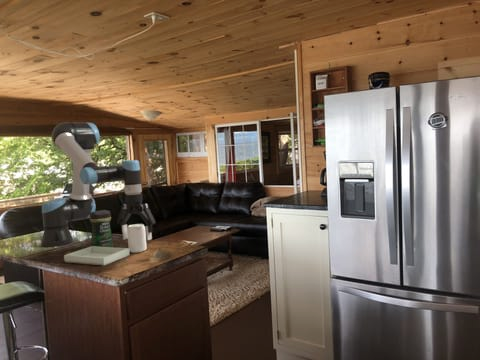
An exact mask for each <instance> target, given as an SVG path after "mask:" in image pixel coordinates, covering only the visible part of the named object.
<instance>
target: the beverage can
mask: <svg viewBox="0 0 480 360" xmlns="http://www.w3.org/2000/svg"><path fill="white" fill-rule="evenodd" d="M127 234H128V238H127V244H128V245H127V246H128V248H129V252H130V253H132V254H136V253H137V254H138V253H142V252H144V251H146V250H147V249H148V247H147V235H146V226H145V224H143V223H135V224H129V225H127Z"/></svg>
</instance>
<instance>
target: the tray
mask: <svg viewBox="0 0 480 360" xmlns="http://www.w3.org/2000/svg"><path fill="white" fill-rule="evenodd" d="M130 253H131V252H130V251H129V247H128V248H127V247H114V246H112V247H98V246H92V245H91V246H87V247H86V248H82V249H79V250H75V251H71V252H69V253H66V254H64V255H63V258H64V259H63V260H64V263H73V264H83V265H95V266H107V265H109V264H112V263H113V262H116V261H119V260H121V259H123V258H126V257H129V256H130V255H131V254H130Z"/></svg>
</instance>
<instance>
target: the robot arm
mask: <svg viewBox="0 0 480 360" xmlns="http://www.w3.org/2000/svg"><path fill="white" fill-rule="evenodd" d="M100 137H101V136H100V131H99V128H98V127H97V125H96V124H94V123H93V122H84V121H81V122H78V121H75V122H74V121H71V122H70V121H64V122H60V123H58V124H57V125H56V126H55V127H54V128H53V130H52V132H51V141H52V143H53V144H54V146H55V147H56V148H57V149H58V150H60V151H61V150H62V152H63V153H64V154H65V155H66V156H67V157H68V159H69V161H71V162H72V167H73V168H72V184H71V185H72V186H71V188H72V190H71V193H70V194H69V195H68V199H66V198H64V197H60V198H55V199H50V200H47V201H44V202H43V203H42V204H41V214H42V216H41V217H42V224H43V233H42V238H41V242H40V243H41V247H44V248H45V247H49V248H50V247H59V246H64V245H69V244H71V243H73V242H74V241H73V240H74V239H73V235H72V233H71V231H70V229H69V224H68V223H69V222H75V221H81V220H86V219H90V213H91V212H94V211H96V201H95V199H94V197H92V194H90V185H95V184H102V183H104V184H105V183H112V182H113V183H114V182H123V183H124V184H123V185H124V187H123V188H124V194H125V197H124V199H125V203H123V204H120V211H119V215H118V218H117V221H116V224H117V225H120V230H121V233H122V239H123V240H128V234H127V228H128V224H127V222H128V220H129V219H130V217H131V215H138V216H140V218H141V219H142V220H143V222H144V223H145V225H146V226H145V232H146V241H150V240H152V239H153V236H152V235H153V234H152V233H153V225H155V224H156V219H155V218H154V215H153V214H152V212H151V209H150V207H149V204H148V203H143V193H142V192H143V189H142V179H141V178H142V177H141V176H142V175H141V166H140V161H139V160H138V159H132V160H130V159H129V160H123V161H122V163H121V164H116V165H115V164H113V165H103V166H99V165H98V164H97V163H96V162H95V161H94V159H92V152H93V151H94V150H95V145H98V144H99V142H100V139H101V138H100Z"/></svg>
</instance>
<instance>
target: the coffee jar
mask: <svg viewBox="0 0 480 360" xmlns="http://www.w3.org/2000/svg"><path fill="white" fill-rule="evenodd" d="M111 220H112V215H111V211H110V210H109V209H108V210H107V209H101V210H95V211H94V212H91V213H90V218H89V222H90V224H91V246H98V247H114V242H113V241H114V240H113V235H112V229H111Z"/></svg>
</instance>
